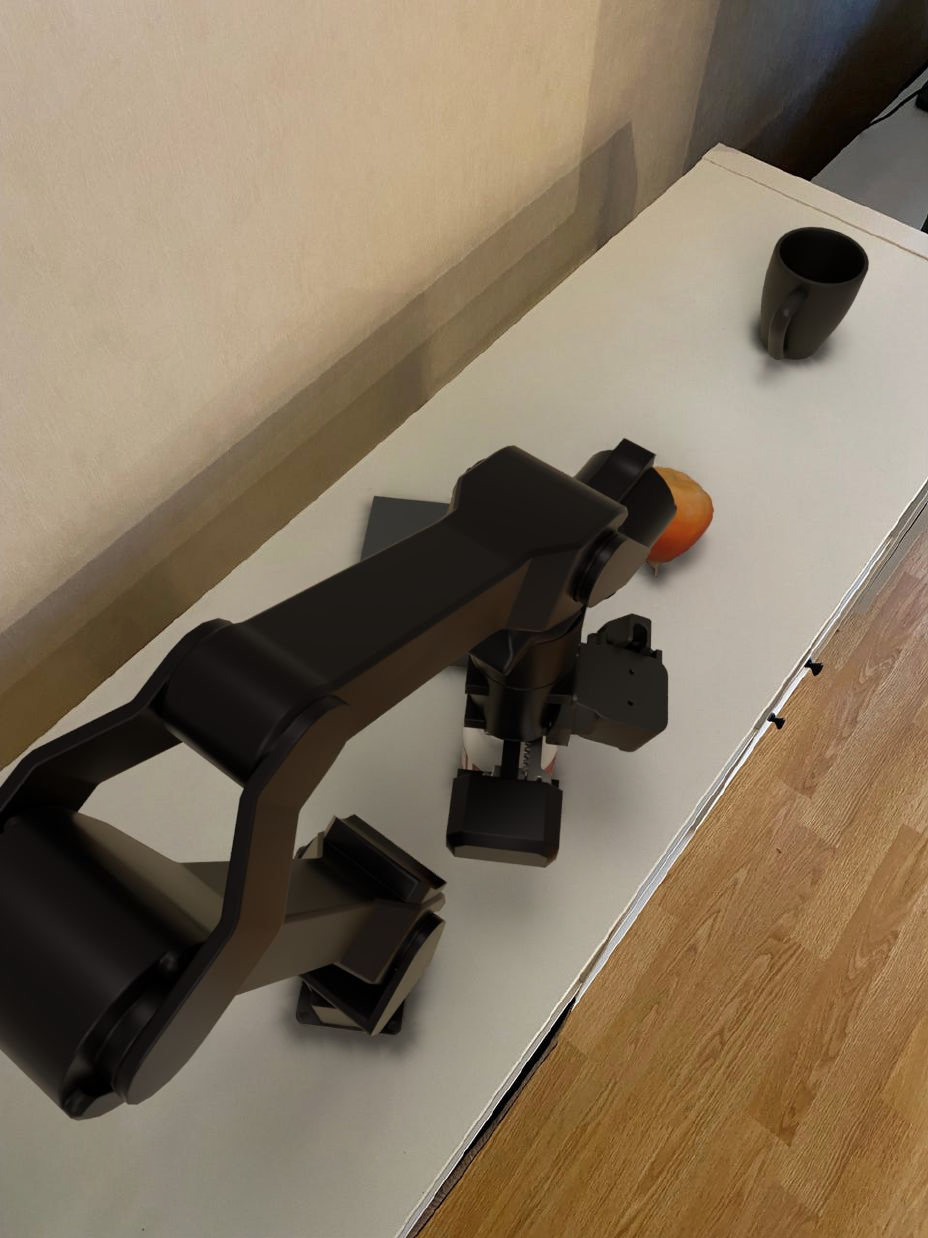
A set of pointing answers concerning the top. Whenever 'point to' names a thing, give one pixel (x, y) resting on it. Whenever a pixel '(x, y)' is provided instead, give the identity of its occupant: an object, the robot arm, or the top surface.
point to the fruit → (682, 518)
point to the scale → (401, 527)
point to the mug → (809, 289)
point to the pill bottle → (496, 752)
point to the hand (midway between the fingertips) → (508, 761)
